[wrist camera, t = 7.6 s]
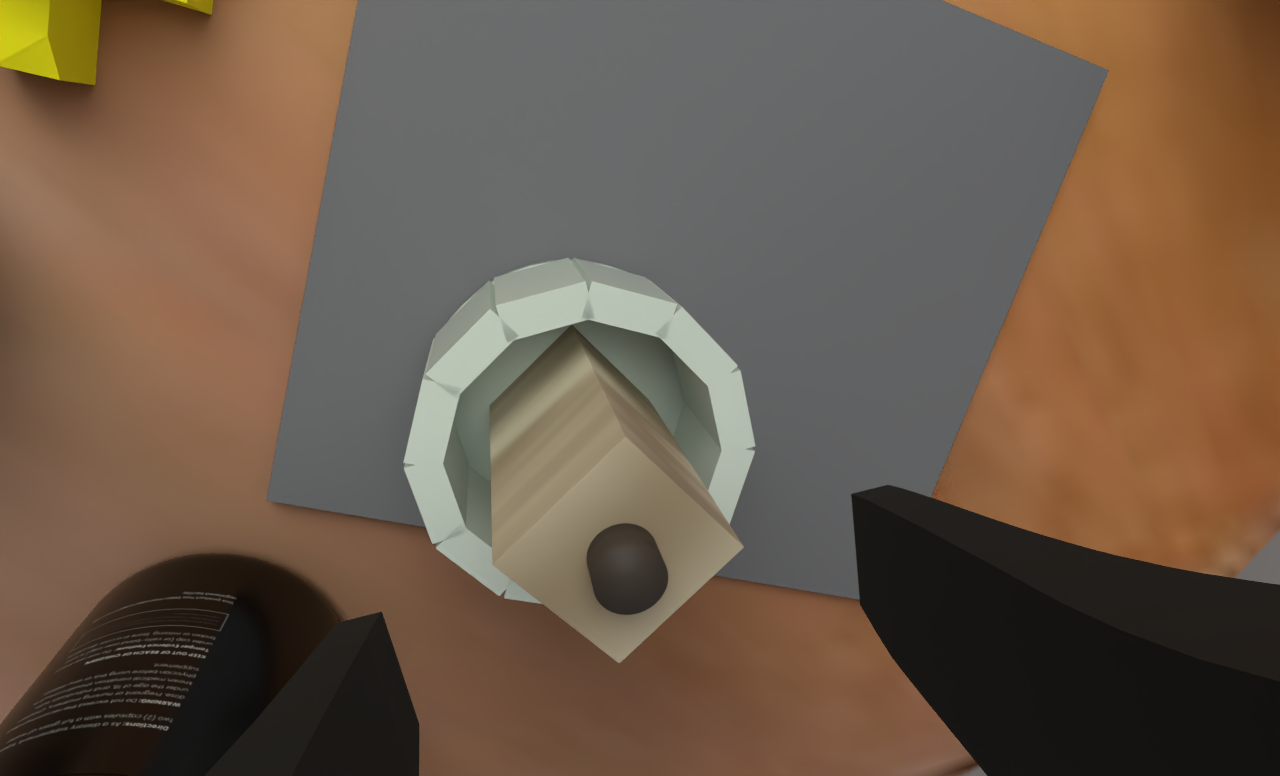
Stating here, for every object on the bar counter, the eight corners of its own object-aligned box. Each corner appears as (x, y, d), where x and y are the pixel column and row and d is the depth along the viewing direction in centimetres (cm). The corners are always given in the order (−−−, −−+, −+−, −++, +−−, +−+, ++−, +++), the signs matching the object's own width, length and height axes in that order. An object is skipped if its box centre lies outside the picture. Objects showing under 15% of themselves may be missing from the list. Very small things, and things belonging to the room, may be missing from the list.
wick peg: (649, 400, 21) (759, 571, 12) (570, 476, 21) (627, 695, 13) (571, 323, 19) (635, 456, 11) (489, 405, 20) (493, 592, 11)
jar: (738, 299, 21) (795, 335, 17) (658, 544, 23) (693, 626, 19) (459, 223, 19) (453, 244, 15) (396, 498, 21) (376, 579, 17)
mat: (1098, 71, 21) (1108, 70, 21) (880, 597, 25) (886, 604, 25) (401, -219, 16) (399, -228, 16) (270, 494, 20) (266, 500, 20)
